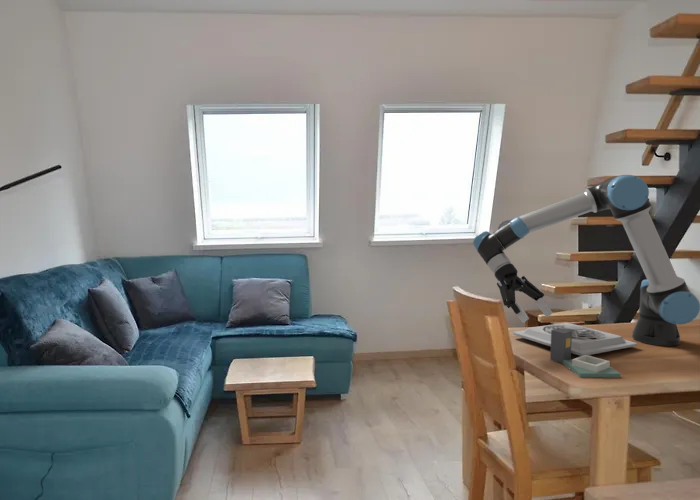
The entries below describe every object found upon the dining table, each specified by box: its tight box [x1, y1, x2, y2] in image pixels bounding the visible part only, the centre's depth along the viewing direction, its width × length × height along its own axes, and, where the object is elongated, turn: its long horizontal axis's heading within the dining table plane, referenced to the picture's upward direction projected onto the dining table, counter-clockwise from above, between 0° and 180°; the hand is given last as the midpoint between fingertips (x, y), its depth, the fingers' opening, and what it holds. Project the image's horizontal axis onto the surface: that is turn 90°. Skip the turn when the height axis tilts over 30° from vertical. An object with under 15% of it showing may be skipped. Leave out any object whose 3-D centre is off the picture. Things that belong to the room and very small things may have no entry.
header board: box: [562, 355, 622, 379], centre depth 148 cm, size 12×12×3 cm
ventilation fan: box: [512, 322, 638, 357], centre depth 175 cm, size 30×6×30 cm
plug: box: [549, 328, 572, 364], centre depth 157 cm, size 4×5×10 cm
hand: (538, 318), depth 163 cm, fingers open, 13 cm apart
